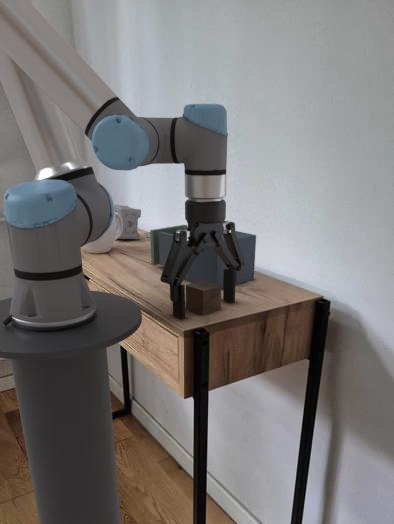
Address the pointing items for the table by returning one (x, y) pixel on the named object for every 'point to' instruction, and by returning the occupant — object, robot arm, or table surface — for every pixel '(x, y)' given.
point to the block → (203, 297)
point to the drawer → (161, 243)
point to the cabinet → (213, 267)
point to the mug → (106, 237)
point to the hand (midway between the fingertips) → (205, 308)
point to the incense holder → (128, 221)
